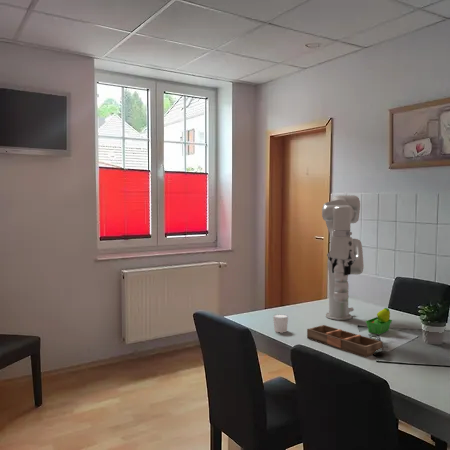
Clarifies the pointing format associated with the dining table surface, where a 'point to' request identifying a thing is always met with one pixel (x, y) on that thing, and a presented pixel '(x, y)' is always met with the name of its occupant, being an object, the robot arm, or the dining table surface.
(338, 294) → the plastic bottle
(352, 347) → the wooden compartment tray
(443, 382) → the dining table surface
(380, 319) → the fruit basket
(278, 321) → the white cup
